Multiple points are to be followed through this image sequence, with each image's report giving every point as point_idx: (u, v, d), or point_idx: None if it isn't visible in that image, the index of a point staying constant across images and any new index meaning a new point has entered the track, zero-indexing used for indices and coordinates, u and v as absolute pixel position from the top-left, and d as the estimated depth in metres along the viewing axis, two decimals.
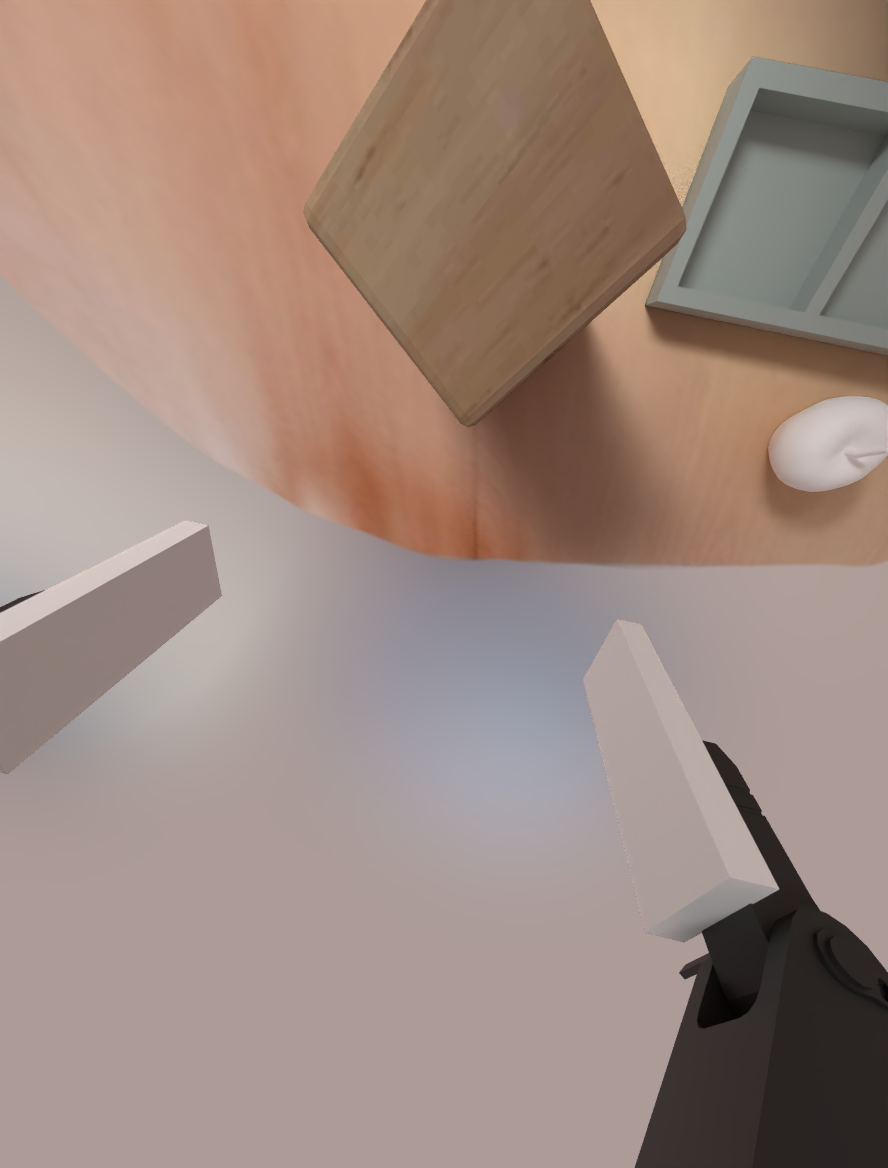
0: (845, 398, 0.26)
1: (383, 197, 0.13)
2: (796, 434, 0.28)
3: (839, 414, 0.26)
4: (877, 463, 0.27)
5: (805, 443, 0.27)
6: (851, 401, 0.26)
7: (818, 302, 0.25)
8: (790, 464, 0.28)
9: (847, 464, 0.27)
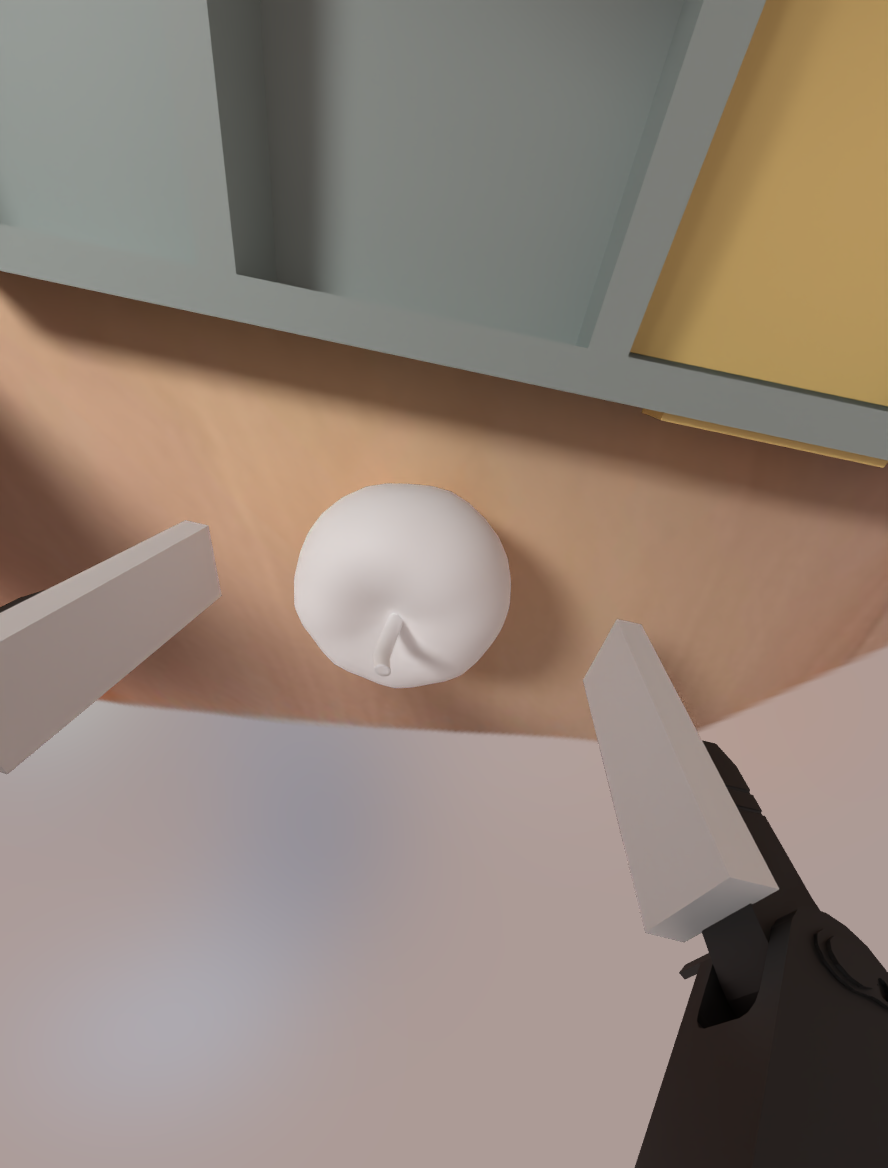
0: (365, 494, 0.10)
1: None
2: None
3: (323, 543, 0.10)
4: (466, 653, 0.11)
5: (296, 599, 0.11)
6: (359, 508, 0.10)
7: (213, 236, 0.09)
8: None
9: (403, 651, 0.11)
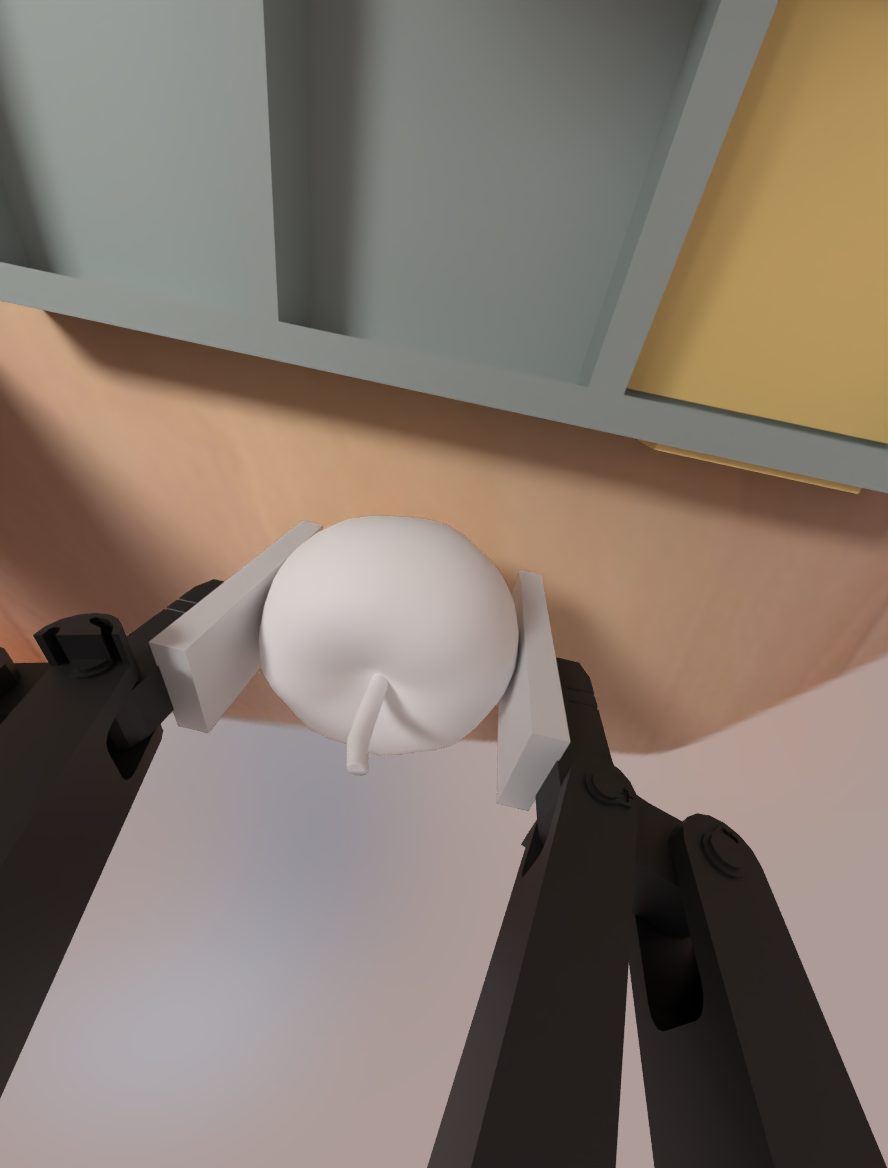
0: (341, 532, 0.08)
1: None
2: (261, 620, 0.10)
3: (288, 595, 0.08)
4: (465, 722, 0.09)
5: (260, 656, 0.09)
6: (333, 551, 0.08)
7: (260, 290, 0.10)
8: None
9: (389, 718, 0.09)
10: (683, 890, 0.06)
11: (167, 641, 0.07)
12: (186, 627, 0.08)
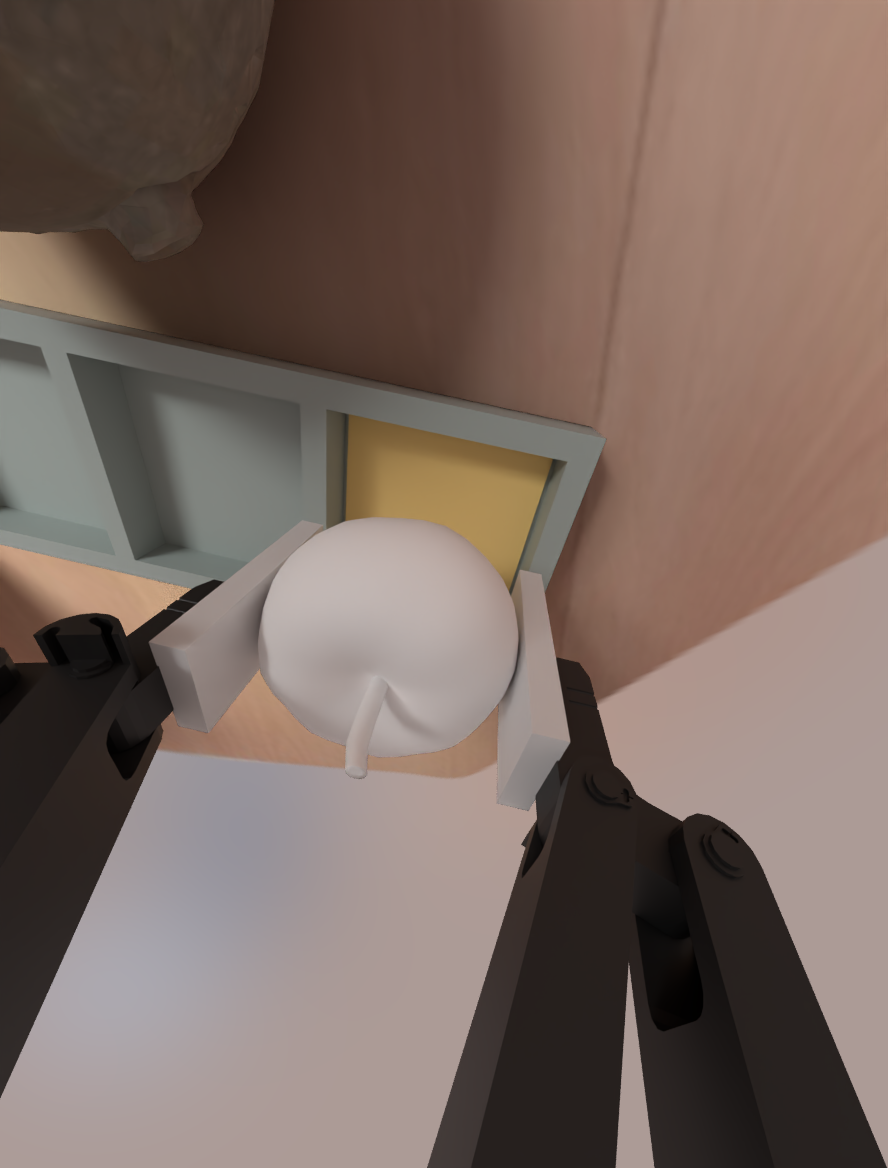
0: (340, 534, 0.08)
1: None
2: (261, 622, 0.10)
3: (287, 598, 0.08)
4: (464, 724, 0.09)
5: (259, 658, 0.09)
6: (332, 553, 0.08)
7: (121, 546, 0.18)
8: None
9: (388, 720, 0.09)
10: (683, 890, 0.06)
11: (167, 641, 0.07)
12: (186, 627, 0.08)
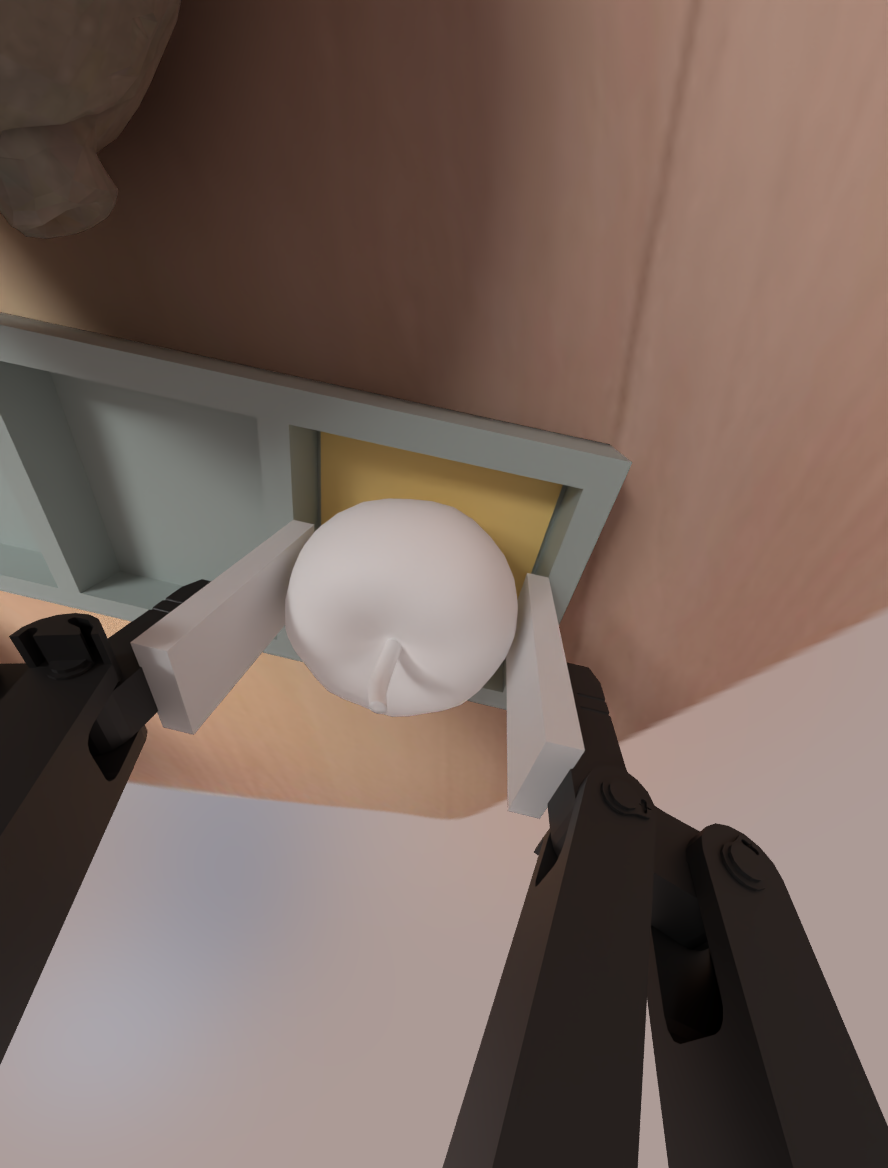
0: (361, 511, 0.10)
1: None
2: None
3: (315, 564, 0.09)
4: (469, 682, 0.10)
5: (287, 622, 0.10)
6: (355, 526, 0.09)
7: (64, 578, 0.16)
8: None
9: (401, 679, 0.10)
10: (703, 903, 0.06)
11: (149, 641, 0.07)
12: (169, 627, 0.08)
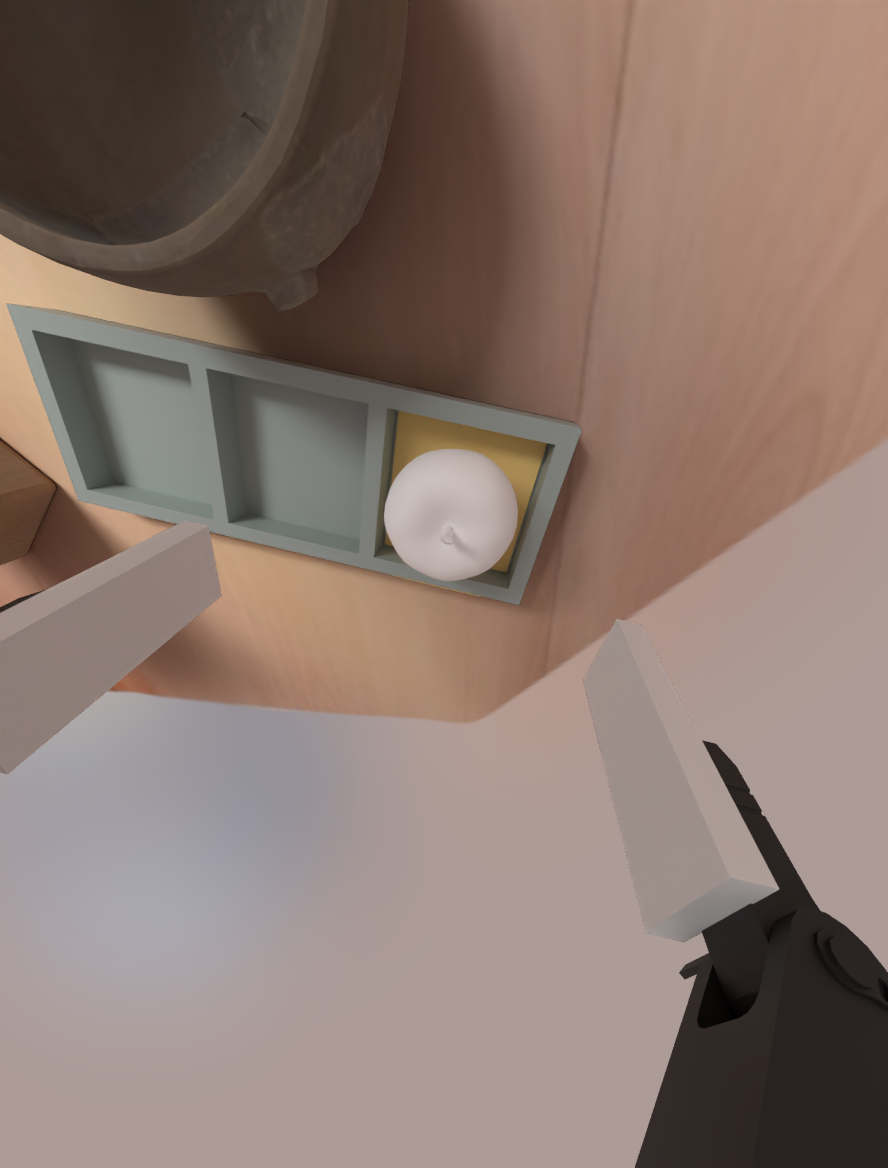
0: (433, 453, 0.18)
1: None
2: (386, 502, 0.19)
3: (410, 479, 0.17)
4: (490, 549, 0.18)
5: (388, 517, 0.18)
6: (431, 459, 0.17)
7: (219, 512, 0.24)
8: None
9: (452, 549, 0.18)
10: None
11: None
12: None
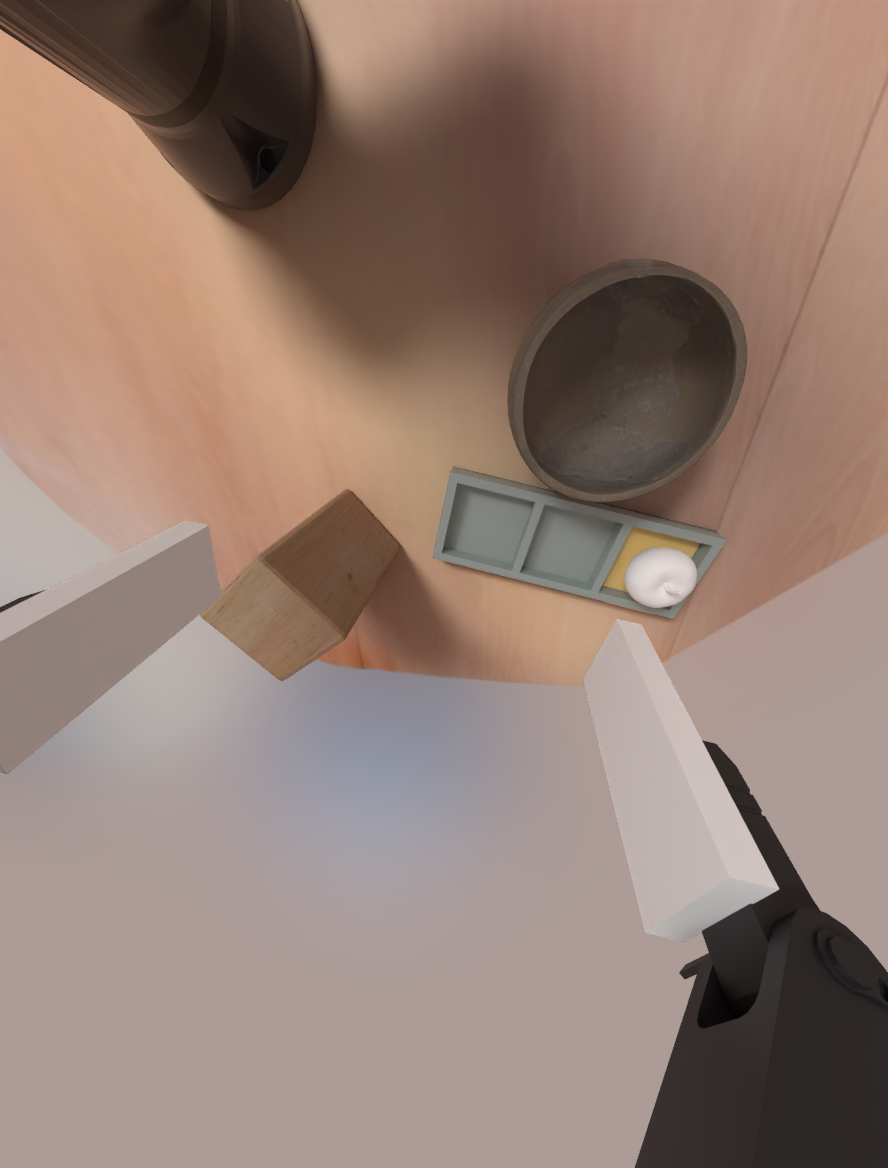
0: (662, 551, 0.39)
1: (229, 617, 0.32)
2: (633, 571, 0.40)
3: (655, 564, 0.38)
4: (685, 595, 0.39)
5: (637, 579, 0.39)
6: (664, 555, 0.38)
7: (517, 567, 0.45)
8: (631, 590, 0.41)
9: (666, 594, 0.39)
10: None
11: None
12: None
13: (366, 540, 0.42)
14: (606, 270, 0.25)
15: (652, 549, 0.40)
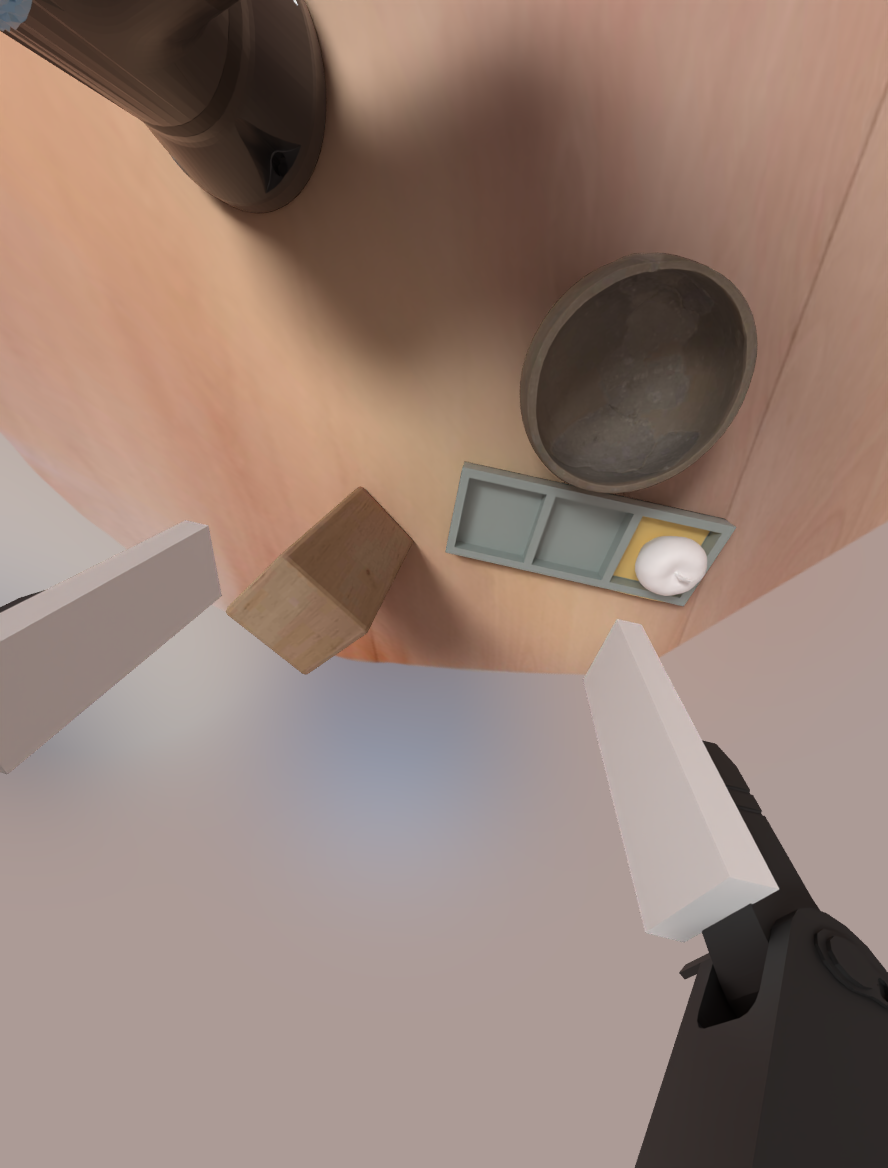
0: (672, 540, 0.40)
1: (255, 614, 0.33)
2: (644, 560, 0.41)
3: (666, 553, 0.39)
4: (696, 582, 0.40)
5: (648, 568, 0.40)
6: (674, 544, 0.39)
7: (529, 559, 0.46)
8: (642, 578, 0.41)
9: (677, 582, 0.40)
10: None
11: None
12: None
13: (381, 536, 0.43)
14: (617, 265, 0.26)
15: (662, 538, 0.41)
